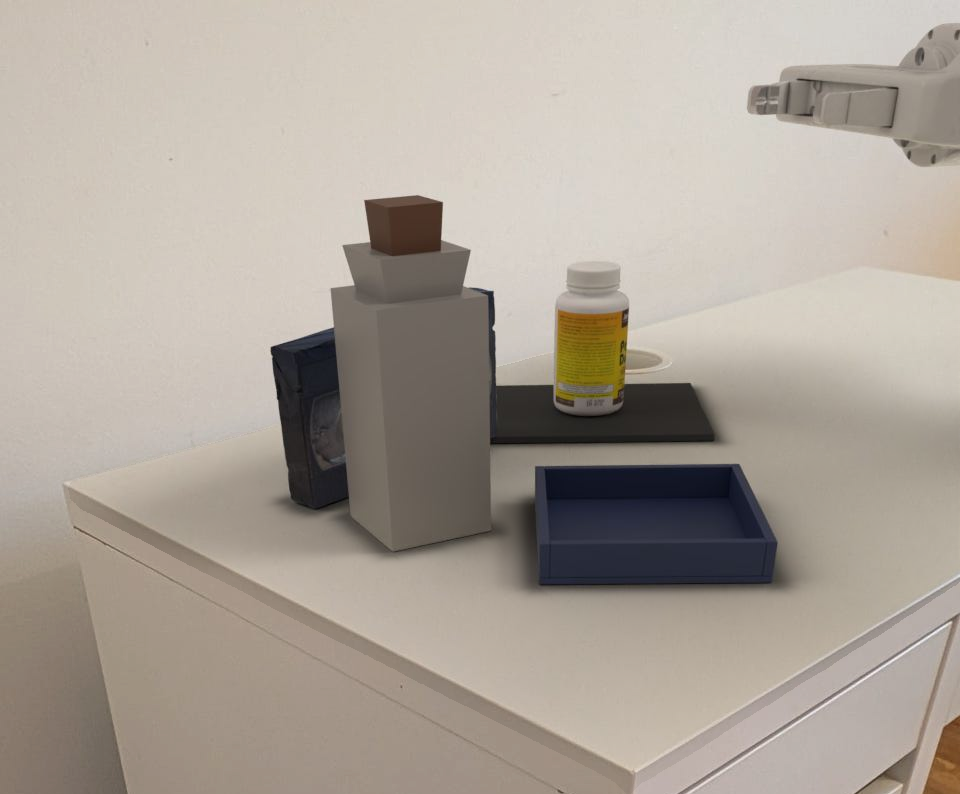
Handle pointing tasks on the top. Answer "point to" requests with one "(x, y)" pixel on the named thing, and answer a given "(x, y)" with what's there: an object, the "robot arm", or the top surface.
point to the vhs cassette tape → (328, 413)
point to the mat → (602, 416)
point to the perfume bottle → (413, 380)
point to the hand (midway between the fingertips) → (784, 104)
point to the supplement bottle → (590, 340)
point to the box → (650, 525)
